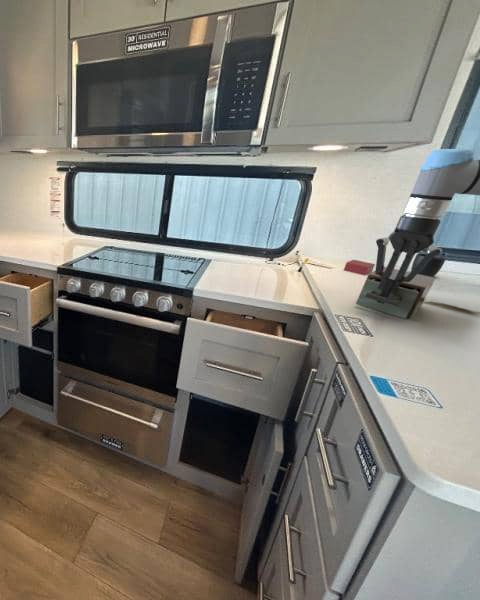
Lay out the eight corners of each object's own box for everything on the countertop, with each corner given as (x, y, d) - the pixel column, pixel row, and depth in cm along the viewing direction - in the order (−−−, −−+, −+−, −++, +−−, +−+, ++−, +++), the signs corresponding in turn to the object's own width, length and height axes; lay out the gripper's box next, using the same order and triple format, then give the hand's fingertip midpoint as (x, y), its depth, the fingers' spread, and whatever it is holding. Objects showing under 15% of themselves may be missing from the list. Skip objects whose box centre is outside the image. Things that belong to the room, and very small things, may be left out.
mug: (435, 278, 133) (447, 256, 130) (433, 284, 126) (445, 260, 122) (408, 273, 139) (419, 251, 135) (404, 278, 131) (415, 255, 128)
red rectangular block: (369, 276, 131) (374, 264, 129) (363, 279, 126) (368, 267, 124) (348, 271, 136) (353, 259, 134) (341, 274, 131) (346, 262, 129)
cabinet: (409, 319, 93) (425, 287, 89) (356, 303, 102) (368, 274, 98) (420, 306, 103) (435, 277, 99) (370, 293, 112) (382, 266, 108)
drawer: (400, 323, 87) (414, 296, 84) (349, 307, 96) (360, 282, 93) (416, 307, 100) (428, 282, 97) (369, 294, 108) (379, 271, 105)
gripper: (384, 212, 85) (349, 296, 95) (456, 222, 76) (409, 313, 85) (391, 211, 90) (357, 291, 99) (460, 220, 80) (414, 307, 90)
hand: (381, 301), depth 92 cm, fingers closed
